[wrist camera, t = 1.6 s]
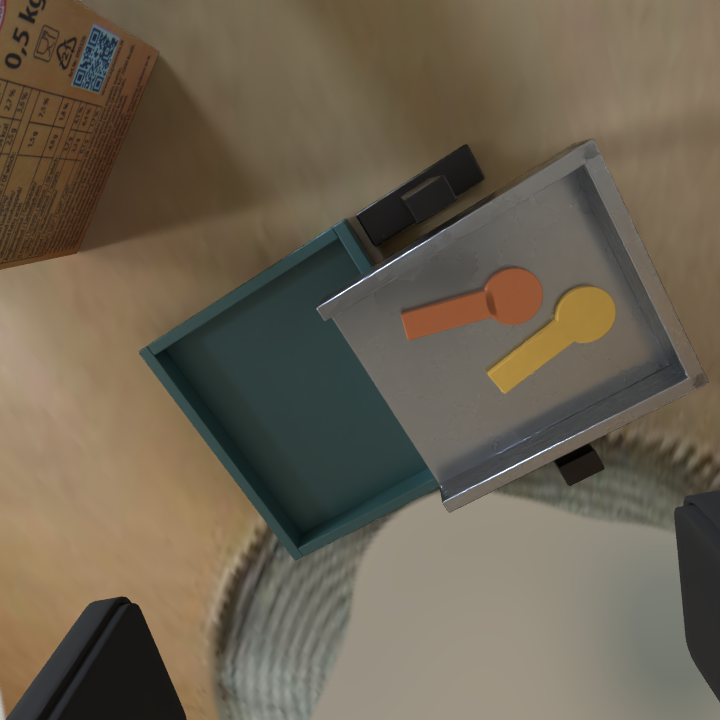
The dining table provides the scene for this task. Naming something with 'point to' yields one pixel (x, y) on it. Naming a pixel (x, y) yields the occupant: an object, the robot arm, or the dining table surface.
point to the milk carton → (60, 121)
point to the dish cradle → (424, 201)
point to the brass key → (558, 334)
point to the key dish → (519, 329)
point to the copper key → (480, 305)
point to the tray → (293, 399)
